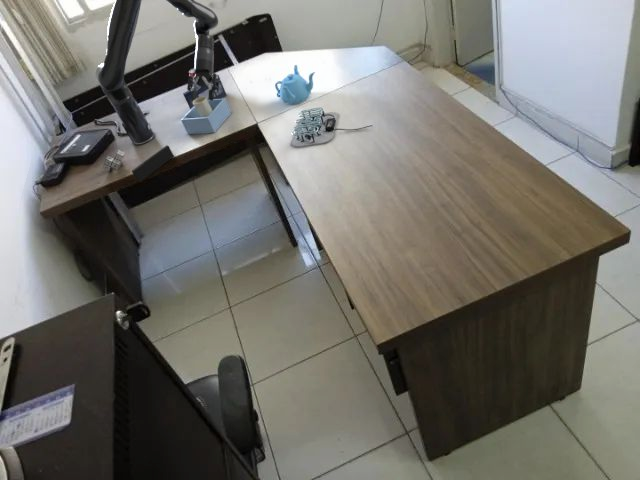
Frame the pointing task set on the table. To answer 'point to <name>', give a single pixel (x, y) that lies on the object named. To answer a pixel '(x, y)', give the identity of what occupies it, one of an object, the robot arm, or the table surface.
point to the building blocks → (113, 161)
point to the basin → (207, 118)
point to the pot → (202, 106)
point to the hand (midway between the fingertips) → (202, 100)
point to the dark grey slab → (153, 163)
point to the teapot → (294, 88)
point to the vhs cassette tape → (205, 93)
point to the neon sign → (315, 128)
